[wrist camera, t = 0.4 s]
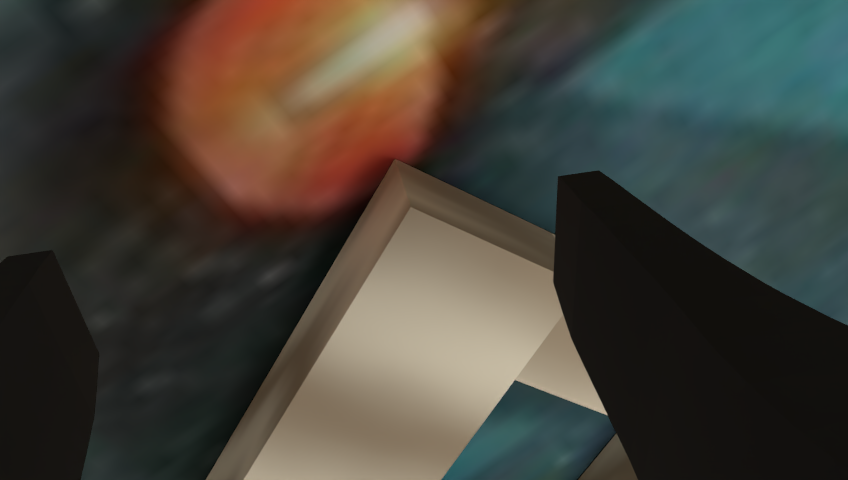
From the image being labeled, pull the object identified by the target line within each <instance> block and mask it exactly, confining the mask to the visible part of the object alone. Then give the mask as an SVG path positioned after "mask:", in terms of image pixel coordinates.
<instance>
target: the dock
mask: <svg viewBox="0 0 848 480" xmlns="http://www.w3.org/2000/svg"><path fill="white" fill-rule="evenodd" d="M554 252H555V234H552V233H550V232H548V231H546V230H544V229H542V228H540V227H538V226H536V225H533V224H531V223H529V222H527V221H525V220H523V219H521V218H519V217H517V216H515V215H512V214H510V213H508V212H506V211H504V210H502V209H500V208H498V207H496V206H493V205H491V204H489V203H487V202H485V201H483V200H481V199H479V198H477V197H475V196H472V195H470V194H468V193H466V192H464V191H462V190H460V189H458V188H456V187H453V186H451V185H449V184H447V183H445V182H443V181H441V180H439V179H437V178H435V177H432V176H430V175H428V174H426V173H424V172H422V171H420V170H418V169H416V168H413V167H411V166H409V165H407V164H405V163H403V162H401V161H399V160H397V159H394V161H393V163H392V164H391V166H390V168H389V170H388V171H387V173H386V175H385V176H384V178H383V180H382V181H381V183H380V185H379V187H378V188H377V190H376V192H375V193H374V195H373V197H372V198H371V200H370V202H369V203H368V205H367V207H366V209H365V210H364V212H363V214H362V215H361V217H360V219H359V220H358V222H357V224H356V226H355V227H354V229H353V231H352V232H351V234H350V236H349V237H348V239H347V241H346V243H345V244H344V246H343V248H342V249H341V251H340V253H339V254H338V256H337V258H336V259H335V261H334V263H333V265H332V266H331V268H330V270H329V271H328V273H327V275H326V276H325V278H324V280H323V282H322V283H321V285H320V287H319V288H318V290H317V292H316V293H315V295H314V297H313V299H312V300H311V302H310V304H309V305H308V307H307V309H306V310H305V312H304V314H303V315H302V317H301V319H300V321H299V322H298V324H297V326H296V327H295V329H294V331H293V332H292V334H291V336H290V338H289V339H288V341H287V343H286V344H285V346H284V348H283V349H282V351H281V353H280V355H279V356H278V358H277V360H276V361H275V363H274V365H273V366H272V368H271V370H270V371H269V373H268V375H267V377H266V378H265V380H264V382H263V383H262V385H261V387H260V388H259V390H258V392H257V394H256V395H255V397H254V399H253V400H252V402H251V404H250V405H249V407H248V409H247V411H246V412H245V414H244V416H243V417H242V419H241V421H240V422H239V424H238V426H237V427H236V429H235V431H234V433H233V434H232V436H231V438H230V439H229V441H228V443H227V444H226V446H225V448H224V450H223V451H222V453H221V455H220V456H219V458H218V460H217V461H216V463H215V465H214V467H213V468H212V470H211V472H210V473H209V475H208V477H207V478H206V480H441V479H442V478H443V476H444V475H445V474H446V472H447V471H448V470H449V468H450V467H451V466H452V464H453V463H454V462H455V460H456V459H457V457H458V456H459V455H460V453H461V452H462V451H463V449H464V448H465V447H466V445H467V444H468V443H469V441H470V440H471V438H472V437H473V436H474V434H475V433H476V432H477V430H478V429H479V428H480V426H481V425H482V424H483V422H484V421H485V420H486V418H487V417H488V415H489V414H490V413H491V411H492V410H493V409H494V407H495V406H496V405H497V403H498V402H499V401H500V399H501V398H502V397H503V395H504V394H505V392H506V391H507V390H508V388H509V387H510V386H511V384H512V383H513V382H514V380H516V381H519V382H522V383H524V384H527V385H530V386H532V387H535V388H537V389H540V390H543V391H545V392H548V393H550V394H553V395H556V396H558V397H561V398H564V399H566V400H569V401H571V402H574V403H577V404H579V405H582V406H584V407H587V408H590V409H592V410H595V411H598V412H600V413H603V414H605V415H607V413H606V411H605V408H604V406H603V404H602V402H601V400H600V398H599V396H598V394H597V392H596V390H595V388H594V386H593V384H592V382H591V379H590V377H589V375H588V373H587V371H586V369H585V367H584V365H583V363H582V361H581V358H580V356H579V354H578V352H577V350H576V348H575V346H574V343H573V341H572V339H571V336H570V333H569V330H568V327H567V324H566V321H565V318H564V315H563V312H562V309H561V306H560V303H559V300H558V296H557V293H556V290H555V287H554V284H553V273H554ZM578 480H638V479H637V476H636V474H635V472H634V469H633V467H632V465H631V462H630V460H629V458H628V456H627V454H626V452H625V450H624V448H623V446H622V444H621V442H620V440H619V437H618V435H617V433H616V434H615V436H614V437H613V438H612V439H611V440H610V442H609V443H608V444H607V445H606V447H605V448H604V449H603V450H602V451H601V453H600V454H599V455H598V456H597V457H596V459H595V460H594V461H593V462H592V464H591V465H590V466H589V467H588V468H587V470H586V471H585V472H584V473H583V474H582V476H581V477H580V478H579V479H578Z"/></svg>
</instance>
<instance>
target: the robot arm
mask: <svg viewBox="0 0 848 480" xmlns="http://www.w3.org/2000/svg"><path fill="white" fill-rule="evenodd" d="M553 284H554V287H555V290H556V293H557V296H558V300H559V303H560V306H561V309H562V312H563V315H564V318H565V321H566V324H567V327H568V330H569V333H570V336H571V339H572V341H573V343H574V346H575V348H576V350H577V352H578V354H579V356H580V358H581V361H582V363H583V365H584V367H585V369H586V371H587V373H588V375H589V377H590V379H591V382H592V384H593V386H594V388H595V390H596V392H597V394H598V396H599V398H600V400H601V402H602V404H603V406H604V408H605V411H606V413H607V415H608V417H609V419H610V421H611V423H612V425H613V427H614V429H615V431H616V433H617V435H618V437H619V440H620V442H621V444H622V446H623V448H624V450H625V452H626V454H627V456H628V458H629V460H630V462H631V465H632V467H633V469H634V472H635V474H636V476H637V479H638V480H848V325H845V324H843V323H841V322H839V321H837V320H835V319H832V318H830V317H828V316H826V315H824V314H822V313H820V312H818V311H816V310H815V309H813V308H811V307H809V306H807V305H805V304H803V303H801V302H799V301H797V300H795V299H793V298H791V297H789V296H787V295H785V294H783V293H781V292H780V291H778V290H776V289H774V288H772V287H771V286H769V285H767V284H765V283H763V282H762V281H760V280H758V279H757V278H755V277H753V276H752V275H750V274H748V273H747V272H745V271H744V270H742V269H740V268H739V267H737V266H735V265H734V264H732V263H730V262H729V261H727V260H725V259H724V258H722V257H721V256H719V255H718V254H716V253H715V252H713V251H711V250H710V249H708V248H707V247H705V246H704V245H702V244H701V243H699V242H698V241H696V240H695V239H693V238H692V237H690V236H689V235H688V234H686V233H685V232H683V231H682V230H680V229H679V228H677V227H676V226H675V225H673V224H672V223H670V222H669V221H668V220H666V219H665V218H663V217H662V216H661V215H659V214H658V213H657V212H655V211H654V210H652V209H651V208H650V207H648V206H647V205H646V204H644V203H643V202H641V201H640V200H639V199H637V198H636V197H635V196H633V195H632V194H631V193H629V192H628V191H627V190H625V189H624V188H623V187H621V186H620V185H618V184H617V183H616V182H614V181H613V180H612V179H610V178H609V177H607V176H606V175H604V174H603V173H602V172H600V171H592V172H585V173H578V174H571V175H564V176H558V189H557V210H556V231H555V252H554V273H553ZM98 362H99V352H98V350H97V348H96V346H95V343H94V341H93V339H92V337H91V335H90V332H89V330H88V328H87V326H86V323H85V321H84V319H83V317H82V315H81V312H80V310H79V308H78V306H77V303H76V301H75V299H74V297H73V295H72V292H71V290H70V288H69V286H68V283H67V281H66V279H65V277H64V275H63V272H62V270H61V268H60V266H59V263H58V261H57V259H56V257H55V255H54V252H53V250H50V251H43V252H36V253H30V254H23V255H16V256H9V257H7V258H6V259H4V260H3V261H2V262H1V263H0V480H81V475H82V471H83V467H84V462H85V457H86V453H87V448H88V444H89V439H90V435H91V430H92V425H93V420H94V414H95V403H96V392H97V378H98Z"/></svg>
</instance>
